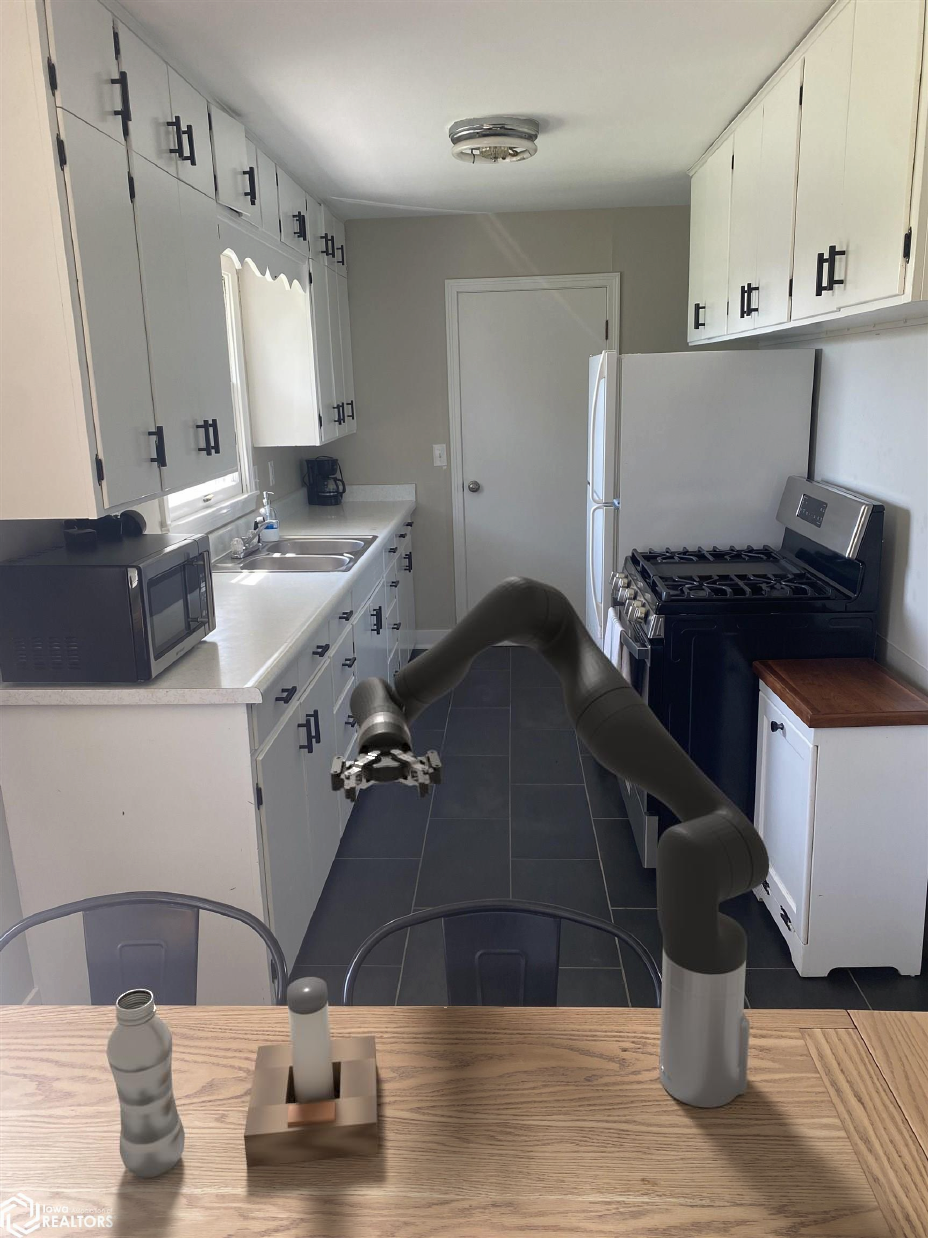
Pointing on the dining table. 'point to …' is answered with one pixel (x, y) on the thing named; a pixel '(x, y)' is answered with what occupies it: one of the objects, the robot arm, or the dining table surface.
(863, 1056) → the dining table surface
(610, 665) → the robot arm
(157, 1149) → the plastic bottle
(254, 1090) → the socket block
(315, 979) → the plug
